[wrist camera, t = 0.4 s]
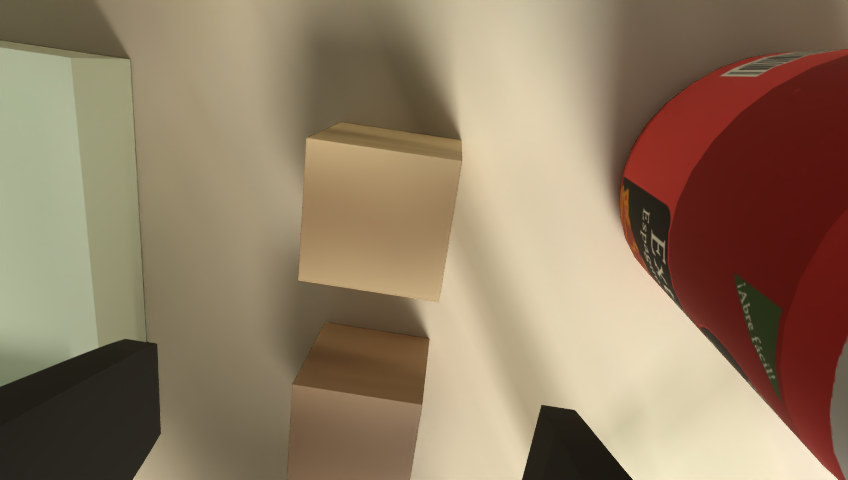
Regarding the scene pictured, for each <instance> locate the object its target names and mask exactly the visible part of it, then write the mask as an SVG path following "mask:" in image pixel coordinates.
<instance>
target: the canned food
mask: <svg viewBox="0 0 848 480" xmlns="http://www.w3.org/2000/svg"><path fill="white" fill-rule="evenodd" d="M620 218H621V222H622V226H623V231H624V235H625V239H626V241H627V243H628V245H629V247H630V249H631V251H632V253H633V255H634V257H635V258H636V259H637V260H638V262H639V263H640V264H641V265H642V266H643V268H644V269H645V270H646V271H647V272H648V274H649V275H650V276H651V277H652V278H653V279H654V280H655V281H656V282H657V283H658V285H659V286H660V287H661V288H662V289H663V290H664V291H665V292H666V293H667V294H668V296H669V297H670V298H671V299H672V300H673V301H674V302H675V303H676V304H677V305H678V306H679V308H680V309H681V310H682V311H683V312H684V313H685V314H686V315H687V316H688V317H689V319H690V320H691V321H692V322H693V323H694V324H695V325H696V326H697V327H698V328H699V330H700V331H701V332H702V333H703V334H704V335H705V336H706V337H707V338H708V339H709V341H710V342H711V343H712V344H713V345H714V346H715V347H716V348H717V349H718V350H719V352H720V353H721V354H722V355H723V356H724V357H725V358H726V359H727V360H728V361H729V363H730V364H731V365H732V366H733V367H734V368H735V369H736V370H737V371H738V372H739V373H740V375H741V376H742V377H743V378H744V379H745V380H746V381H747V382H748V383H749V384H750V386H751V387H752V388H753V389H754V390H755V391H756V392H757V393H758V394H759V395H760V397H761V398H762V399H763V400H764V401H765V402H766V403H767V404H768V405H769V406H770V408H771V409H772V410H773V411H774V412H775V413H776V414H777V415H778V416H779V417H780V419H781V420H782V421H783V422H784V423H785V424H786V425H787V426H788V427H789V428H790V430H791V431H792V432H793V433H794V434H795V435H796V436H797V437H798V438H799V439H800V440H801V442H802V443H803V444H804V445H805V446H806V447H807V448H808V449H809V450H810V451H811V453H812V454H813V455H814V456H815V457H816V458H817V459H818V460H819V461H820V462H821V464H822V465H823V466H824V467H825V468H827V469H828V470H829V471H830V472H831V473H832V474H833V475H834V476H835V477H836V478H837V479H838V480H848V49H840V50H823V51H805V52H788V53H775V54H769V55H763V56H757V57H751V58H747V59H744V60H741V61H739V62H736V63H733V64H730V65H727V66H725V67H722V68H719V69H718V70H716V71H714V72H712V73H710V74H709V75H707V76H705V77H703V78H701V79H700V80H698V81H696V82H694V83H693V84H691V85H690V86H688V87H687V88H685V89H684V90H683V91H682V92H680V93H679V94H678V95H676V96H675V97H674V98H673V99H671V100H670V101H669V102H668V103H666V104H665V105H664V106H663V107H662V108H661V109H660V110H659V112H658V113H657V114H656V115H655V116H654V117H653V118H652V119H651V120H650V121H649V123H648V124H647V125H646V126H645V128H644V130H643V131H642V133H641V134H640V136H639V137H638V139H637V140H636V142H635V144H634V145H633V148H632V150H631V152H630V155H629V157H628V160H627V162H626V164H625V167H624V172H623V177H622V182H621V187H620Z"/></svg>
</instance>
